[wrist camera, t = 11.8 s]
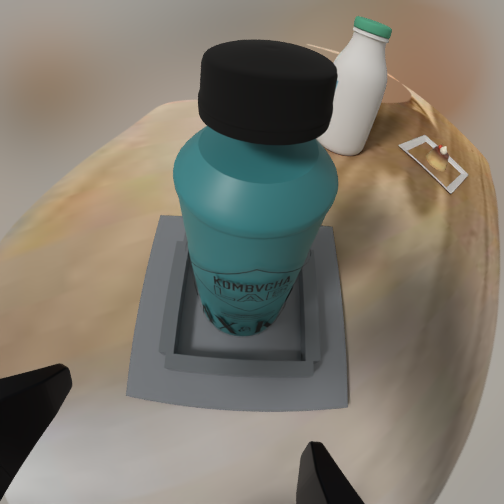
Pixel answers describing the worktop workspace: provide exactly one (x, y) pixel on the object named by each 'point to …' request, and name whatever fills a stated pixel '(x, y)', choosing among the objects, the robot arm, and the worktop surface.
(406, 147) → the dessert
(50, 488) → the worktop surface
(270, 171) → the beverage bottle
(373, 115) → the milk bottle
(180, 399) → the grey square base plate
